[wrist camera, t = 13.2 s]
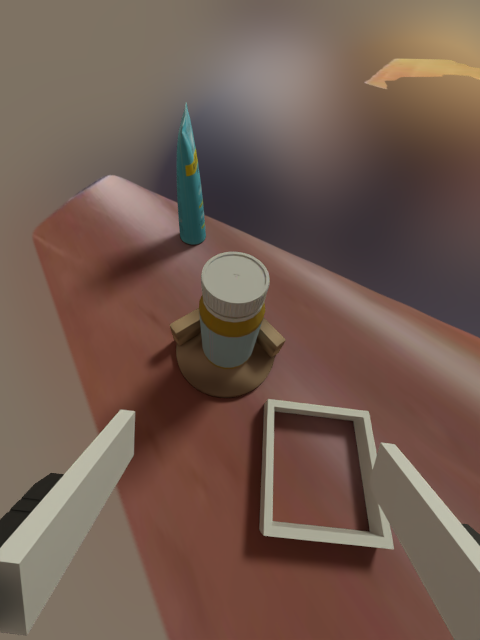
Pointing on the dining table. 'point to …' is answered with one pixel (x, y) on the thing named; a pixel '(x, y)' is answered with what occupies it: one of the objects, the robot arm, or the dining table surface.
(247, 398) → the dining table surface
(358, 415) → the grey frame
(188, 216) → the tube
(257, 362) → the v block
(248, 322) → the bottle
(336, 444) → the dining table surface
